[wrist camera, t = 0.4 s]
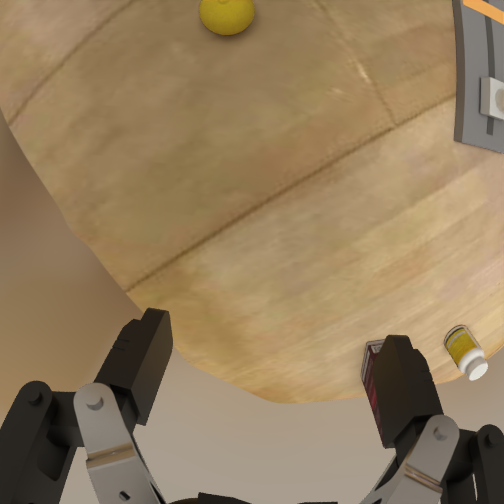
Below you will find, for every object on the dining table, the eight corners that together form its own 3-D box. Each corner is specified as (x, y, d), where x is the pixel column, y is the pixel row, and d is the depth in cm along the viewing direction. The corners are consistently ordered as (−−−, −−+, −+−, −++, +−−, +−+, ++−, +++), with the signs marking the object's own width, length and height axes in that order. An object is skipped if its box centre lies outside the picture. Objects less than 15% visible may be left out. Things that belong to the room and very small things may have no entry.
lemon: (220, -6, 27) (211, -32, 19) (263, 12, 28) (265, -13, 20) (197, 31, 29) (181, 11, 21) (240, 49, 30) (235, 32, 23)
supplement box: (384, 371, 50) (410, 442, 36) (359, 376, 50) (381, 449, 36) (393, 336, 47) (428, 410, 32) (366, 340, 47) (395, 418, 32)
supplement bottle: (438, 345, 48) (460, 383, 39) (454, 322, 46) (480, 358, 37) (456, 348, 49) (477, 384, 40) (471, 326, 46) (496, 360, 37)
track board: (445, -38, 21) (453, -42, 19) (496, -13, 21) (504, -16, 19) (453, 140, 33) (462, 142, 31) (501, 152, 33) (510, 155, 31)
